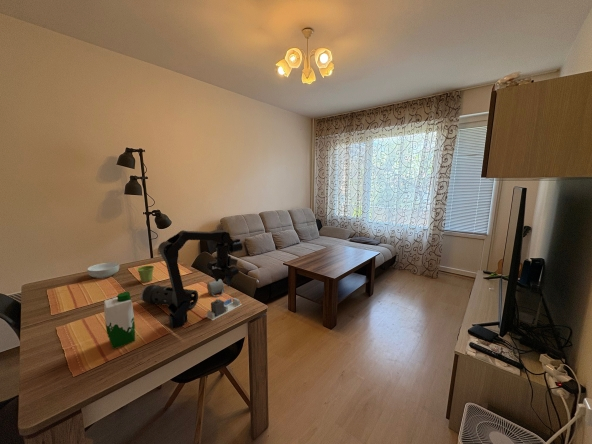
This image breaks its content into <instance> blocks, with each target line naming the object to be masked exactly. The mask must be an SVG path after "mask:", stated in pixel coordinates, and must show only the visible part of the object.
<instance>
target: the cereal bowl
mask: <svg viewBox="0 0 592 444" xmlns="http://www.w3.org/2000/svg"><path fill="white" fill-rule="evenodd" d="M119 269H120V264H119V263H118V262H111V261H110V262H104V263H97V264H94V265H91V266H88V267H87V270H86V271H87V274H88V275H89V276H90V277H92V278H98V279H106V278H109V277H111V276H112V275H114V274H117V272H118V271H120V270H119Z"/></svg>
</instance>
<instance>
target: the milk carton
mask: <svg viewBox="0 0 592 444" xmlns="http://www.w3.org/2000/svg"><path fill="white" fill-rule="evenodd" d="M103 308H104V312H103V314H104V321H105V329H106V334H107V337H108V339H109V342H110V344H111V347H112V350H115V349H118V348H120V347H123V346H125V345H128V344H130V343H133V342H135V341H136V324H135V323H136V322H135V316H134V308H133V301H132V297H131V292H130V291H124V292H120V293H118V294H117V297H116V296H114V297H112V298H110V299H106V300H104V307H103Z"/></svg>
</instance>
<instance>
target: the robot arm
mask: <svg viewBox="0 0 592 444" xmlns="http://www.w3.org/2000/svg"><path fill="white" fill-rule="evenodd" d="M188 241H214V243H213V244H212V246H211V247H213V248H215V249H216V250H215V251H216V256H214V259H215V260H212V261H209V262H207V264H206V268H207V269H208V271H209V272H210V273H211V275H212V277H213V278H214V281H216V282H217V281H218V280H219V279H220V278H219V277H220V270H222V271H224V279H225V282H226V285H227V287H230V286H231V283H232V280H233V278H234V276H236V275H238V274H240V268H238V267H235V266H237V265H238V259H236V258H233V257H232V256H231V255H229V253H230V254H233V253H238V252H242V251H243V243H242V241H241V239H240V238H235V239H232V238H231V234H230V233H229V231H226V230H222V229H215V230H212V231H200V230H199V231H198V230H197V231H195V230H192V231H191V230H181V231H179V232H178V233H176V234H175V235H173V236H171V237H169V238H168V239H167V240H164V241H162V242H161V243H160V244H159V245H158V247H157V248H158V252H159V254H160V255H161V258H162V259H163V261H164V263H165V266H166V270H167V273H168V276H169V280H170V281H169V282H170V285H171V287H172V289H173V294H172V302H171V304H170V305H167V307H166V309H167V311H168V312H169V313H170V314H168V321H169V327H170V328H172V329H173V330H174V329H176V328H177V329H178V328H182V327H183V326H185V324H186V323H188V321H189V320H188V310H189V309H190V308H189V306H190V305H191V302H192V300H191V298H190V293H189V292H188V291H186V290H185V289H186V288H184V284H183V280H182V277H181V276H182V275H181V272H180V267H179V263H178V261H179V251H180V250H181V249H182V248H183V247H184V246H185V244H186V243H188ZM190 301H191V302H190Z"/></svg>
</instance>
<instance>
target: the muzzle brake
mask: <svg viewBox="0 0 592 444" xmlns="http://www.w3.org/2000/svg"><path fill="white" fill-rule="evenodd" d="M184 289H185V290H186V291H188V292H189V293H190V298H191V300H192V301H190V302H191V305H190V306H189V308H188V309H189V310H190V309H193V308H195V306H196V305H197V303H198V301H199V293H198V291H197V290H195V289H187V288H184ZM172 294H173V289H172V286H171V287H170V286H163V285H158V284H148V285H145V286H144V287H143V288H142V289H141V292H140V300H141V301H142V302H144V303H146V304H151V305H154V304H156V305H157V306H169V305H170V304H171V302H172Z"/></svg>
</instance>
